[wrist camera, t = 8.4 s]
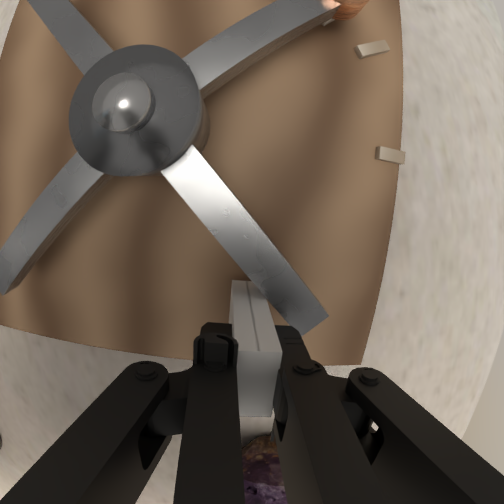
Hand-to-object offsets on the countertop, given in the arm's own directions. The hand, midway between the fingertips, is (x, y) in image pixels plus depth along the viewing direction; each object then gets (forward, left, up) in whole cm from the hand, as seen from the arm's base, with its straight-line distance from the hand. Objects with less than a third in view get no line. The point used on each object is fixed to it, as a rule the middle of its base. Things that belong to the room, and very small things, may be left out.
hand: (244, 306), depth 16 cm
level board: (-5, +9, -3) cm, 10 cm away
